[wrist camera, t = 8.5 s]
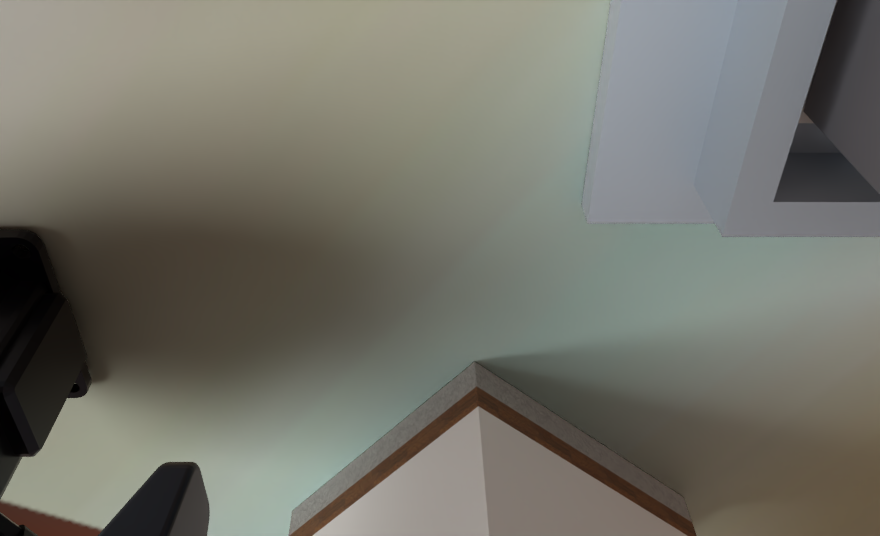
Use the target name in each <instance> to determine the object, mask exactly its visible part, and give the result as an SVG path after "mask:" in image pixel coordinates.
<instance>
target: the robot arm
mask: <svg viewBox="0 0 880 536" xmlns="http://www.w3.org/2000/svg"><path fill="white" fill-rule="evenodd" d="M18 244H19V245H24V246H25V247H27V248H28V249H29V251H26V250H23V249H22V248H20V246H19V245H18ZM86 359H87V354H86V351H85V348H84V345H83V342H82V340H81V337H80V334H79V331H78V328H77V325H76V322H75V319H74V316H73V314H72V311H71V308H70V305H69V302H68V300H67V298H66V297H65V296H64V295H63V294H62V293H61V291H60V288H59V285H58V282H57V280H56V277H55V274H54V271H53V268H52V265H51V262H50V260H49V257H48V254H47V251H46V248H45V245H44V243H43V241H42V240H41V238H40V237H38V236H37V235H36V234H35V233H32V232H30V231H27V230H0V499H1V497H2V495H3V493H4V491H5V489H6V487H7V486H8V484H9V482H10V480H11V478H12V476H13V474H14V472H15V470H16V468H17V466H18V464H19V462H20V460H21V459H22V457H32V456H35V455H36V454H37V453H38V452H39V451H40V450H41V449H42V447H43V445H44V443H45V441H46V439H47V437H48V435H49V433H50V431H51V429H52V427H53V425H54V423H55V421H56V419H57V417H58V415H59V413H60V411H61V409H62V407H63V405H64V403H65V401H66V399H67V398H78V397H82V396H84V395H85V394H86V393H87V391H88V389H89V387H90V385H91V377H90V374H89V371H88V368H87V365H86V363H85V361H86ZM74 383H76V384H74ZM208 524H209V502H208V498H207V494H206V490H205V486H204V483H203V479H202V475H201V471H200V468H199V466H198V465H197V464H196V463H194V462H168V463H164V464H162V465H161V466H160V467H159V468H158V469H157V470H156V471H155V472H154V473H153V474H152V475H151V476H150V477H149V479H148V480H147V481H146V482H145V483H144V484H143V485H142V487H141V488H140V489H139V490H138V491H137V492H136V493H135V494H134V496H133V497H132V498H131V499H130V500H129V501H128V502H127V503H126V505H125V506H124V507H123V508H122V509H121V510H120V511H119V512H118V514H117V515H116V516H115V517H114V518H113V519H112V520H111V521H110V523H109V524H108V525H107V526H106V527H105V528H104V529H103V530H102V532H101V533H100V534H99V535H98V536H207V531H208ZM0 536H38V535H36V534H35V533H33V532H32V531H31V530H30V529H28V528H27V527H26V526H24V525H20V526H18V525H17V524H15V523H14V522H13V521H11V520H10V519H9V518H7V517H6V516H5V515H3V514H2V513H0Z"/></svg>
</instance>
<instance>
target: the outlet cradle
mask: <svg viewBox="0 0 880 536" xmlns="http://www.w3.org/2000/svg"><path fill="white" fill-rule="evenodd" d="M837 3H838V0H611V3H610V10H609V17H608V24H607V30H606V37H605V44H604V51H603V58H602V65H601V72H600V79H599V86H598V93H597V100H596V107H595V114H594V121H593V128H592V135H591V142H590V149H589V156H588V162H587V169H586V176H585V183H584V190H583V197H582V204H581V205H582V208H583V211H584V214H585V217H586V221H587V223H705V224H716V226H717V228H718V230H719V232H720V233H721V235H722V237H880V195H879V193H878V192H877V191H876V190H875V189H874V188H873V187H872V186H871V185H870V184H869V183H868V181H867V180H866V179H865V178H864V177H863V176H862V175H861V174H860V173H859V172H858V171H857V169H856V168H855V167H854V166H853V165H852V164H851V163H850V162H849V161H848V160H847V159H846V157H845V156H844V155H843V154H842V153H841V152H840V151H839V150H838V149H837V148H836V147H835V145H834V144H833V143H832V142H831V141H830V140H829V139H828V138H827V137H826V136H825V135H824V133H823V132H822V131H821V130H820V129H819V128H818V127H817V126H816V125H815V124H814V123H813V121H812V120H811V119H810V118H809V117H808V116H807V115H806V114H805V113H804V112H803V110H804V107H805V104H806V101H807V98H808V94H809V91H810V88H811V85H812V82H813V79H814V75H815V72H816V69H817V66H818V63H819V60H820V56H821V53H822V50H823V47H824V44H825V41H826V38H827V34H828V31H829V28H830V25H831V22H832V19H833V15H834V12H835V9H836V6H837Z"/></svg>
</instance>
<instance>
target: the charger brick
mask: <svg viewBox="0 0 880 536" xmlns="http://www.w3.org/2000/svg"><path fill="white" fill-rule="evenodd" d="M803 112H804V113H805V114H806V115H807V116H808V117H809V118H810V119H811V120H812V121H813V123H814V124H815V125H816V126H817V127H818V128H819V129H820V130H821V131H822V132H823V133H824V135H825V136H826V137H827V138H828V139H829V140H830V141H831V142H832V143H833V144H834V145H835V147H836V148H837V149H838V150H839V151H840V152H841V153H842V154H843V155H844V156H845V157H846V159H847V160H848V161H849V162H850V163H851V164H852V165H853V166H854V167H855V168H856V169H857V171H858V172H859V173H860V174H861V175H862V176H863V177H864V178H865V179H866V180H867V181H868V183H869V184H870V185H871V186H872V187H873V188H874V189H875V190H876V191H877V192H878V193H879V195H880V0H838V3H837V6H836V9H835V12H834V15H833V19H832V22H831V25H830V28H829V31H828V34H827V38H826V41H825V44H824V47H823V50H822V53H821V56H820V60H819V63H818V66H817V69H816V72H815V75H814V79H813V82H812V85H811V88H810V91H809V94H808V98H807V101H806V104H805V107H804V110H803Z"/></svg>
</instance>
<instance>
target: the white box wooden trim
mask: <svg viewBox="0 0 880 536" xmlns="http://www.w3.org/2000/svg"><path fill="white" fill-rule="evenodd" d="M289 536H696V533H695V530H694V527H693V524H692V521H691V518H690V515H689V512H688V509H687V506H686V503H685V499H684V497H682V496H681V495H679V494H678V493H676V492H675V491H673V490H672V489H670V488H669V487H667V486H665V485H664V484H662V483H661V482H659V481H658V480H656V479H655V478H653V477H652V476H650V475H648V474H647V473H645V472H644V471H642V470H641V469H639V468H638V467H636V466H635V465H633V464H632V463H630V462H628V461H627V460H625V459H624V458H622V457H621V456H619V455H618V454H616V453H615V452H613V451H612V450H610V449H608V448H607V447H605V446H604V445H602V444H601V443H599V442H598V441H596V440H595V439H593V438H591V437H590V436H588V435H587V434H585V433H584V432H582V431H581V430H579V429H578V428H576V427H575V426H573V425H571V424H570V423H568V422H567V421H565V420H564V419H562V418H561V417H559V416H558V415H556V414H555V413H553V412H551V411H550V410H548V409H547V408H545V407H544V406H542V405H541V404H539V403H538V402H536V401H535V400H533V399H531V398H530V397H528V396H527V395H525V394H524V393H522V392H521V391H519V390H518V389H516V388H514V387H513V386H511V385H510V384H508V383H507V382H505V381H504V380H502V379H501V378H499V377H498V376H496V375H494V374H493V373H491V372H490V371H488V370H487V369H485V368H484V367H482V366H481V365H479V364H478V363H476V362H474V363H472V364H471V365H470V366H469V367H467V368H466V369H465V370H464V371H463V372H461V373H460V374H459V375H458V376H456V377H455V378H454V379H453V380H452V381H450V382H449V383H448V384H447V385H445V386H444V387H443V388H442V389H441V390H439V391H438V392H437V393H436V394H434V395H433V396H432V397H431V398H430V399H428V400H427V401H426V402H425V403H423V404H422V405H421V406H420V407H419V408H417V409H416V410H415V411H414V412H412V413H411V414H410V415H409V416H408V417H406V418H405V419H404V420H403V421H401V422H400V423H399V424H398V425H397V426H395V427H394V428H393V429H392V430H390V431H389V432H388V433H387V434H386V435H384V436H383V437H382V438H381V439H379V440H378V441H377V442H376V443H375V444H373V445H372V446H371V447H370V448H369V449H367V450H366V451H365V452H364V453H362V454H361V455H360V456H359V457H358V458H356V459H355V460H354V461H353V462H351V463H350V464H349V465H348V466H347V467H345V468H344V469H343V470H342V471H340V472H339V473H338V474H337V475H336V476H334V477H333V478H332V479H331V480H329V481H328V482H327V483H326V484H325V485H323V486H322V487H321V488H320V489H318V490H317V491H316V492H315V493H314V494H312V495H311V496H310V497H309V498H307V499H306V500H305V501H304V502H303V503H301V504H300V505H299V506H298V507H296V508H295V509H294V510H293V511H292V516H291V523H290V529H289Z"/></svg>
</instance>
